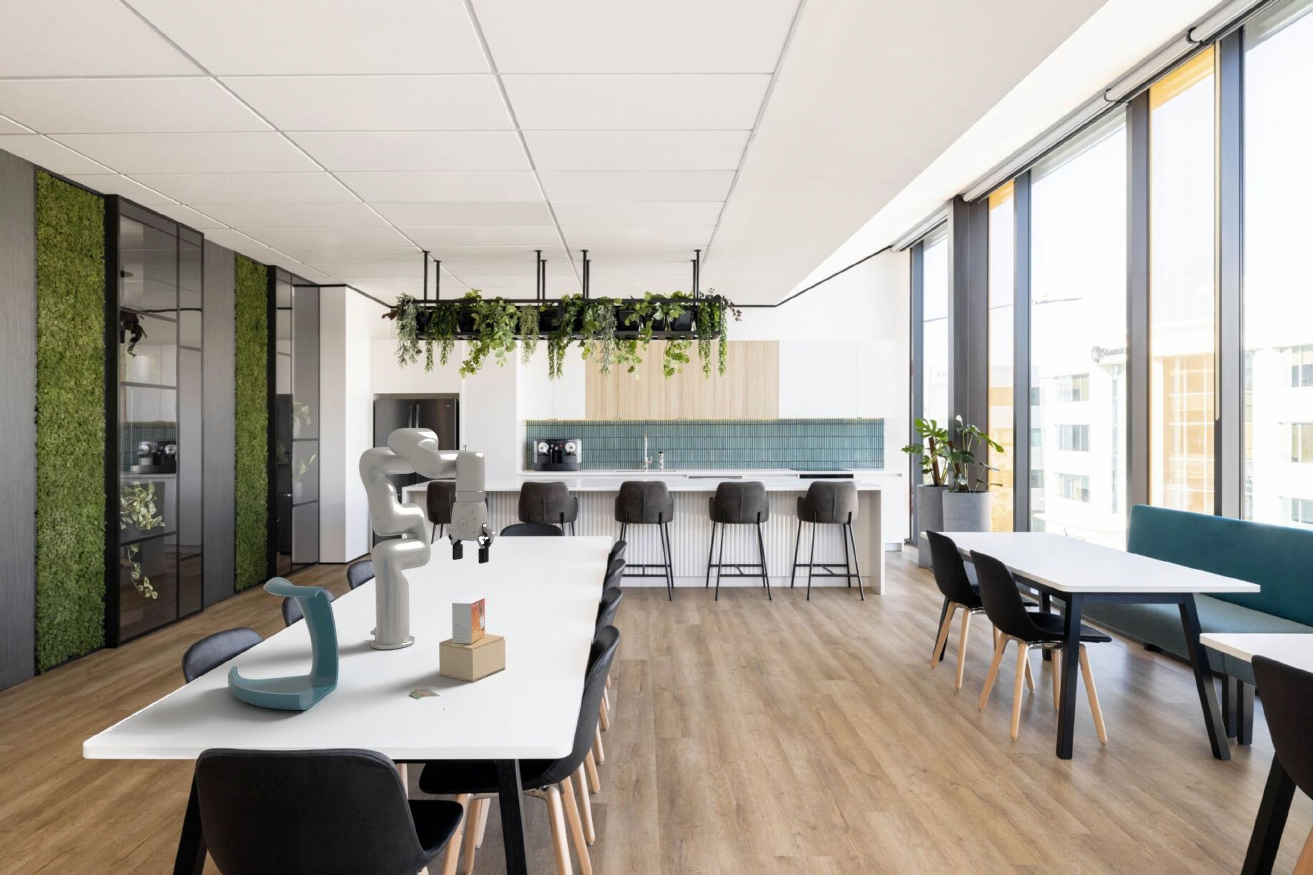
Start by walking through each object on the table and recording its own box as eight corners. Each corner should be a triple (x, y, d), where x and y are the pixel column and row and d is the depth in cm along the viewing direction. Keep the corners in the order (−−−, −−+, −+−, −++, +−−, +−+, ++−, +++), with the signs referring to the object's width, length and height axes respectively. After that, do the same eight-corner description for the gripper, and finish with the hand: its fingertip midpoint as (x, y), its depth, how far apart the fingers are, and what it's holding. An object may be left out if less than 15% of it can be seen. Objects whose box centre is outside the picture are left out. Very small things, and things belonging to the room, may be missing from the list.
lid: (438, 645, 189) (437, 642, 189) (472, 633, 199) (472, 630, 199) (470, 651, 183) (470, 648, 183) (503, 639, 193) (503, 636, 193)
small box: (471, 644, 186) (471, 603, 186) (451, 643, 187) (451, 602, 187) (485, 636, 194) (485, 597, 194) (466, 635, 195) (466, 596, 195)
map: (425, 690, 179) (424, 686, 179) (471, 710, 165) (470, 706, 165) (406, 695, 175) (405, 691, 175) (451, 717, 161) (451, 713, 161)
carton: (439, 675, 189) (439, 644, 189) (472, 662, 199) (472, 633, 199) (473, 682, 183) (472, 651, 183) (505, 669, 193) (505, 639, 193)
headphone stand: (298, 716, 162) (305, 592, 163) (175, 712, 162) (183, 588, 164) (350, 684, 188) (355, 577, 190) (244, 680, 188) (250, 574, 190)
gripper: (437, 496, 195) (437, 560, 195) (483, 500, 186) (483, 566, 186) (458, 494, 201) (458, 555, 201) (504, 497, 192) (504, 561, 192)
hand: (470, 560), depth 194 cm, fingers open, 9 cm apart
